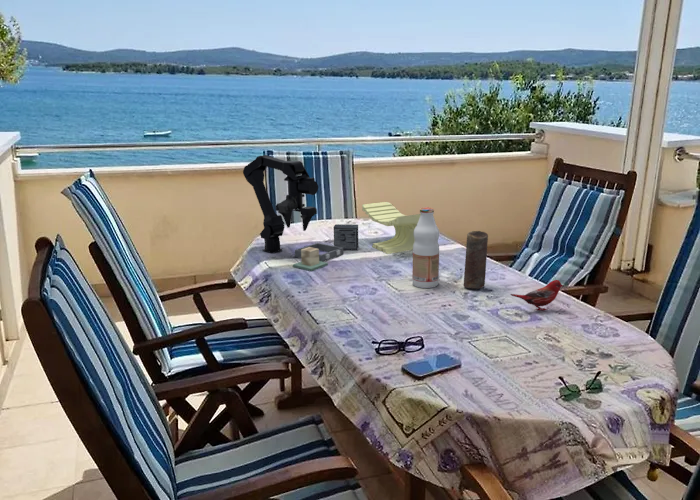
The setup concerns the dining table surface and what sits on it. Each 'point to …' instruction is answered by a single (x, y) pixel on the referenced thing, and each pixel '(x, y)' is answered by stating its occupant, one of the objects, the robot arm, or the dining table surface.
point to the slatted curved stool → (401, 223)
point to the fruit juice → (426, 251)
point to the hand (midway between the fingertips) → (296, 229)
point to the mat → (310, 268)
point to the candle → (475, 260)
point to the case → (331, 250)
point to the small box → (346, 236)
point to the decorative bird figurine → (542, 295)
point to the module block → (310, 256)
